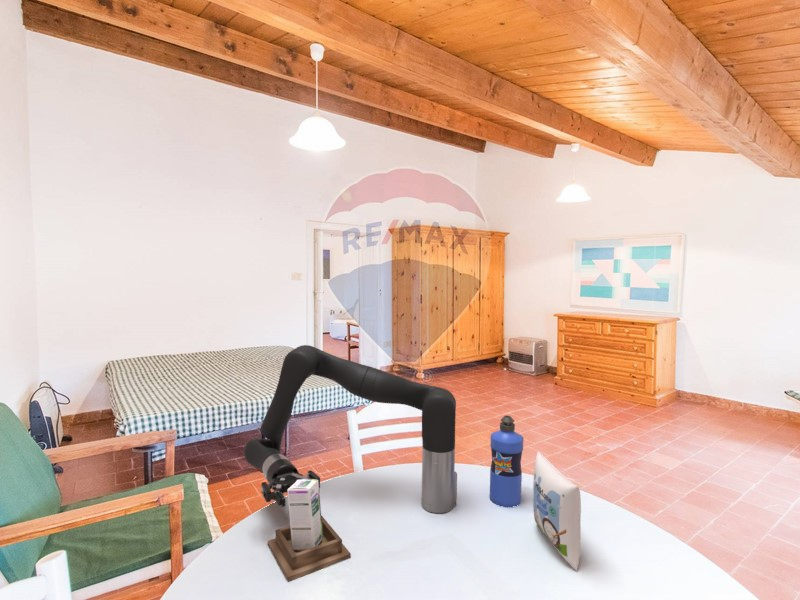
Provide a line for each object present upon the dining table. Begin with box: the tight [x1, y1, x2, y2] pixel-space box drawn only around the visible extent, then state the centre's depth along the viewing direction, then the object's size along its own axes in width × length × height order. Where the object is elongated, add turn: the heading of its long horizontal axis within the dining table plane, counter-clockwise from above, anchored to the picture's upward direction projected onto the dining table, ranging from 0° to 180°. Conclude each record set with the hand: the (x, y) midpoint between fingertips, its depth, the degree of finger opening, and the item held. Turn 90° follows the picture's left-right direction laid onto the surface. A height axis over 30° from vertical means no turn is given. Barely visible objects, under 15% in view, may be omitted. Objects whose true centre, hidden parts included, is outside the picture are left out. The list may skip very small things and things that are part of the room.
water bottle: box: [489, 415, 524, 508], centre depth 129 cm, size 9×9×25 cm
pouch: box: [532, 451, 582, 572], centre depth 108 cm, size 8×19×20 cm, turn 5°
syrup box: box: [287, 479, 323, 550], centre depth 105 cm, size 6×6×14 cm
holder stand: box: [267, 515, 352, 583], centre depth 105 cm, size 15×15×4 cm
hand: (301, 497), depth 108 cm, fingers open, 8 cm apart
